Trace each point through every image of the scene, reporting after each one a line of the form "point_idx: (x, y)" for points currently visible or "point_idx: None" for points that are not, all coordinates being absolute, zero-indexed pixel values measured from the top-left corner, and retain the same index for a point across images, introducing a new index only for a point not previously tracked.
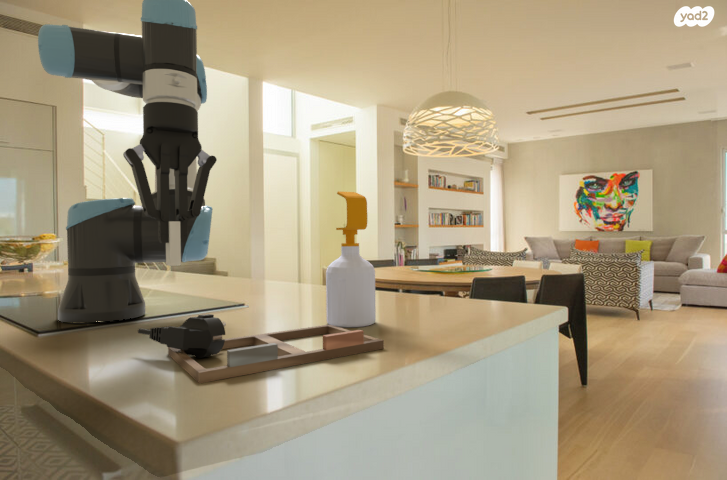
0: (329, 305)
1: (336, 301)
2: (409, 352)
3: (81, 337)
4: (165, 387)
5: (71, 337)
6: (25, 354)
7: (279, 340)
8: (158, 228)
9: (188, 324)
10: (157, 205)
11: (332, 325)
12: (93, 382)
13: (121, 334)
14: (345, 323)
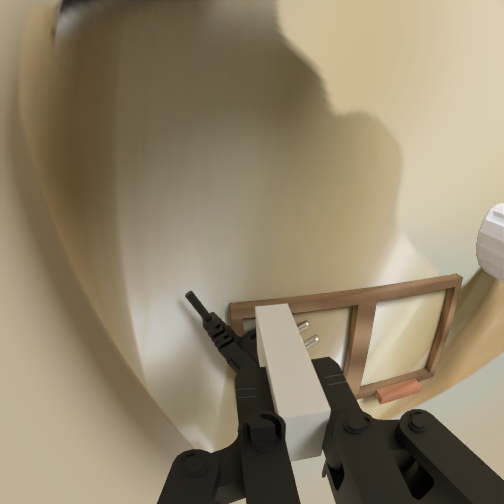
0: (497, 244)
1: (500, 266)
2: (429, 387)
3: (107, 69)
4: (212, 407)
5: (94, 62)
6: (41, 175)
7: (369, 341)
8: (238, 414)
9: (257, 362)
10: (246, 502)
11: (460, 285)
12: (145, 366)
13: (174, 73)
14: (481, 265)
